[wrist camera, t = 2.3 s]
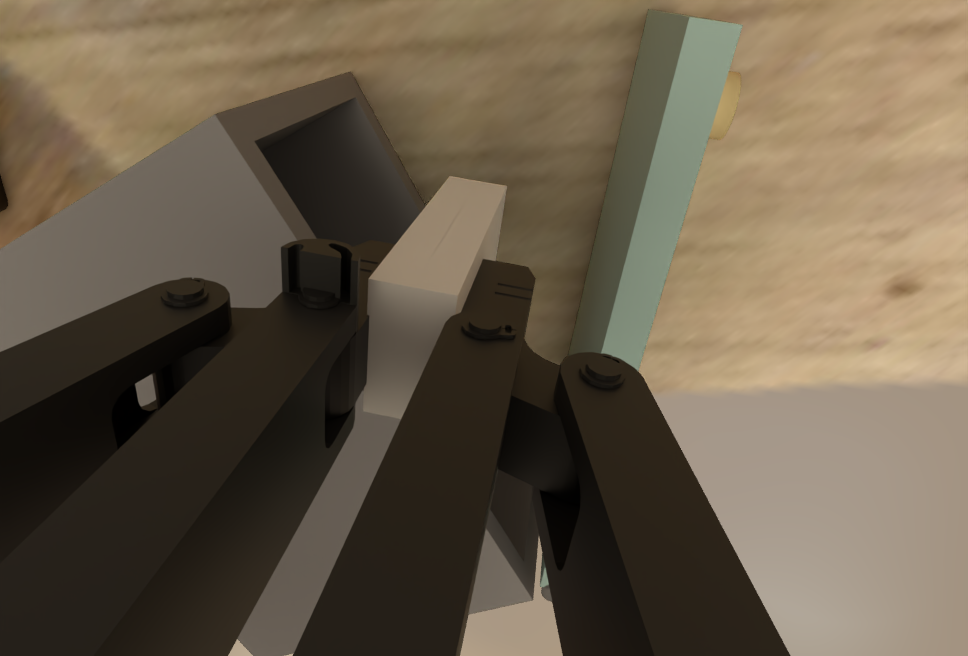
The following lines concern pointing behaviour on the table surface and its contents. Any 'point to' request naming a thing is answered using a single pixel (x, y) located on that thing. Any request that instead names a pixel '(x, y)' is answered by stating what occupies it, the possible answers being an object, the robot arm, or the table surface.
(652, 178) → the pale green rectangular block
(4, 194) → the end cap
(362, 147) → the cabinet
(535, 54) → the table surface
